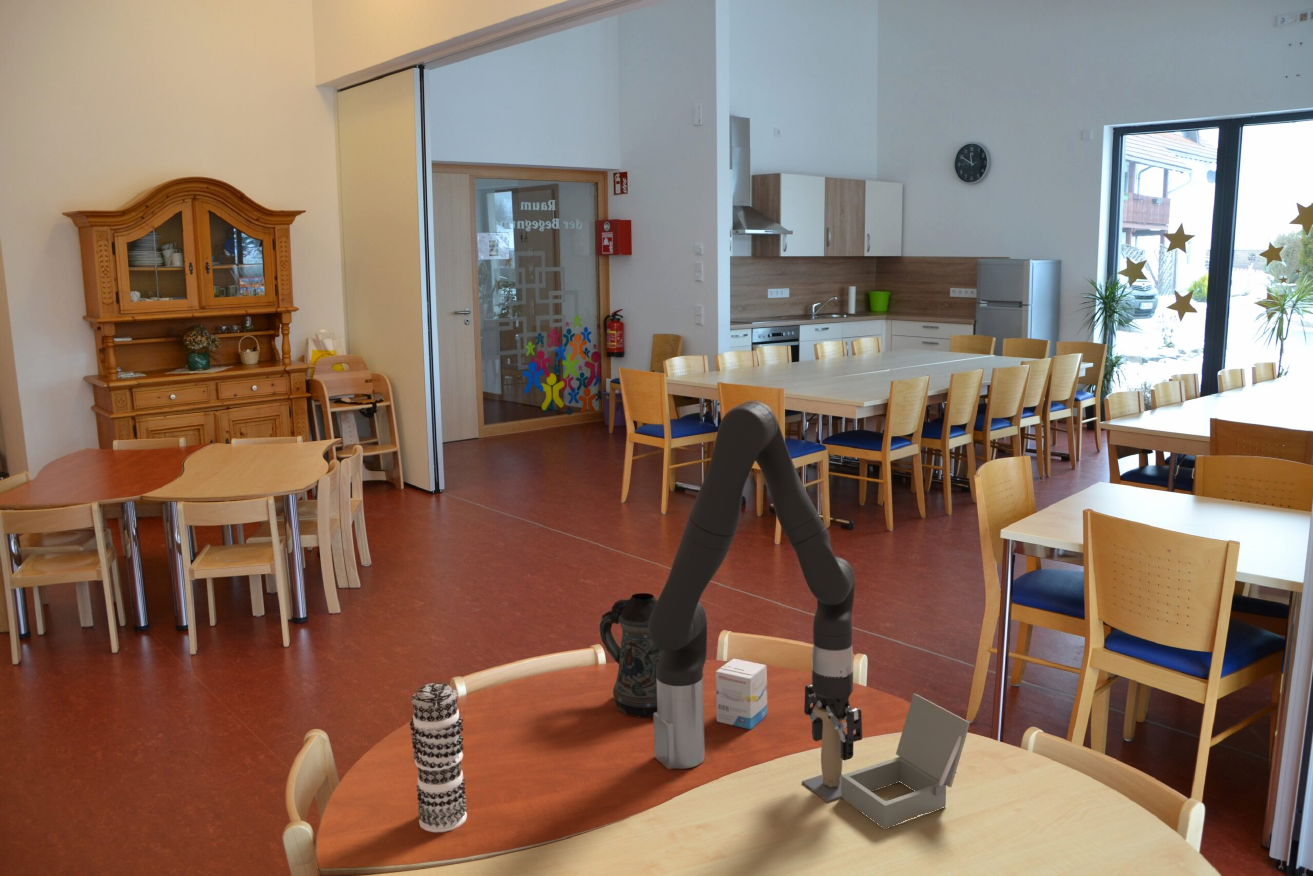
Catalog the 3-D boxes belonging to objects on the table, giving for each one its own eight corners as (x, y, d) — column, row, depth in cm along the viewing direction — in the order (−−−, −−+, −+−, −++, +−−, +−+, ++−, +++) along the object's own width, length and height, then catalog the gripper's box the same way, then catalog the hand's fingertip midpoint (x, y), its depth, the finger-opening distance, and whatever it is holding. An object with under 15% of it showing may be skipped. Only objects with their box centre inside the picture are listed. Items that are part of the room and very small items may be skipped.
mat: (827, 802, 179) (827, 800, 179) (802, 783, 186) (802, 781, 186) (862, 791, 183) (862, 789, 182) (835, 772, 190) (835, 770, 189)
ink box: (768, 715, 215) (768, 664, 213) (750, 730, 208) (750, 678, 206) (733, 706, 219) (733, 657, 217) (715, 721, 212) (714, 670, 210)
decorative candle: (444, 839, 171) (434, 704, 166) (406, 824, 175) (396, 693, 171) (479, 814, 178) (471, 684, 174) (442, 801, 183) (433, 674, 179)
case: (888, 832, 169) (889, 746, 166) (837, 795, 181) (838, 714, 179) (967, 804, 177) (970, 721, 175) (914, 770, 189) (915, 692, 187)
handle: (847, 792, 181) (847, 714, 179) (812, 788, 183) (812, 711, 181) (850, 780, 186) (851, 704, 184) (816, 776, 187) (816, 701, 186)
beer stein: (686, 718, 214) (684, 608, 210) (597, 720, 215) (593, 610, 210) (685, 686, 231) (683, 584, 226) (603, 688, 231) (599, 586, 227)
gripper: (793, 658, 185) (793, 738, 188) (840, 685, 172) (840, 770, 175) (825, 650, 188) (825, 729, 191) (874, 676, 176) (873, 760, 178)
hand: (832, 749), depth 183 cm, fingers open, 8 cm apart
